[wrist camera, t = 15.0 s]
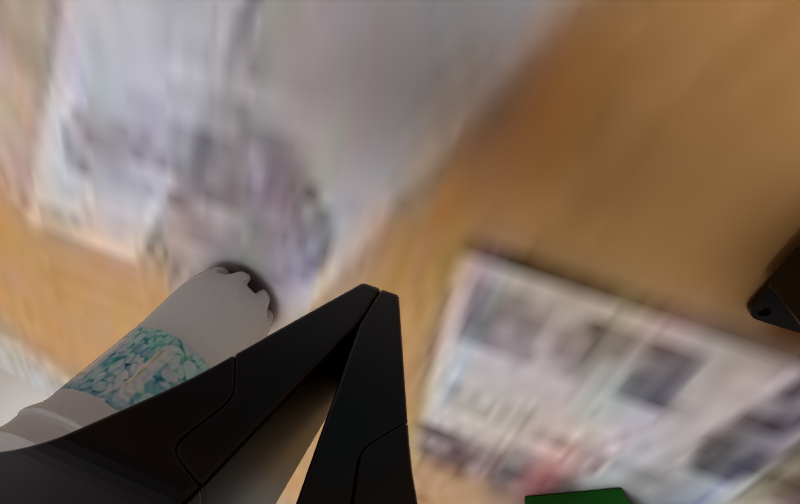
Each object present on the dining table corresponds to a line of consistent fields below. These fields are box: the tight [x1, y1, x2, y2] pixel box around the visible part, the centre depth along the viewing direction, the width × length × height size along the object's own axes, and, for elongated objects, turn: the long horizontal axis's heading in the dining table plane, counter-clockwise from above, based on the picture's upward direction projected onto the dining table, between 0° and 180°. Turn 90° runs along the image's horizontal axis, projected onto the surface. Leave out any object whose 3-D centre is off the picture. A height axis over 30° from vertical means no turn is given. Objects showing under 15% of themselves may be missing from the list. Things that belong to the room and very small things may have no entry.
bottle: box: [0, 267, 273, 452], centre depth 21 cm, size 7×7×20 cm
